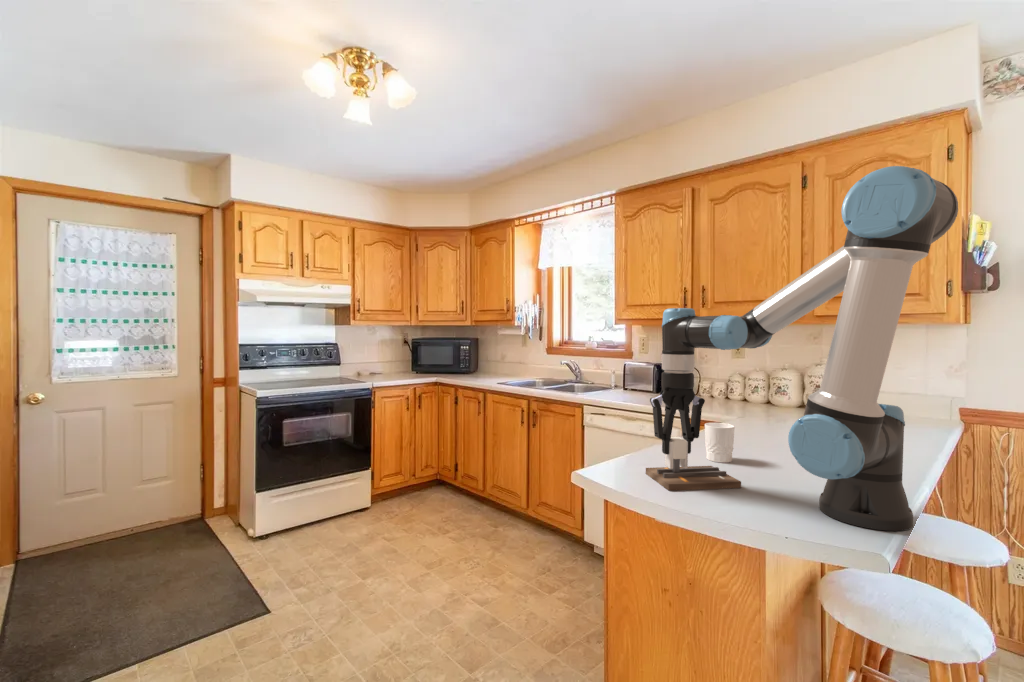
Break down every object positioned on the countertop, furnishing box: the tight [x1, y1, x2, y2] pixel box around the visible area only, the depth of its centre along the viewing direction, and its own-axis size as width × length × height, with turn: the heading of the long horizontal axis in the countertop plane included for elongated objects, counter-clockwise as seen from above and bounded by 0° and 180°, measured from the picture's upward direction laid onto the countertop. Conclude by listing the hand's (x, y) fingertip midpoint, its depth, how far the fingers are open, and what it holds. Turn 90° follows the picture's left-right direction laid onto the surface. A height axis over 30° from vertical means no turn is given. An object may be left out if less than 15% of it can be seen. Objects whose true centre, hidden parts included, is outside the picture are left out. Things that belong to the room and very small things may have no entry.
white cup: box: [704, 422, 736, 464], centre depth 136 cm, size 8×8×10 cm
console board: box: [645, 465, 742, 492], centre depth 117 cm, size 13×18×2 cm
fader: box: [670, 436, 686, 473], centre depth 117 cm, size 4×3×8 cm
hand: (676, 466), depth 117 cm, fingers closed on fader, 3 cm apart
